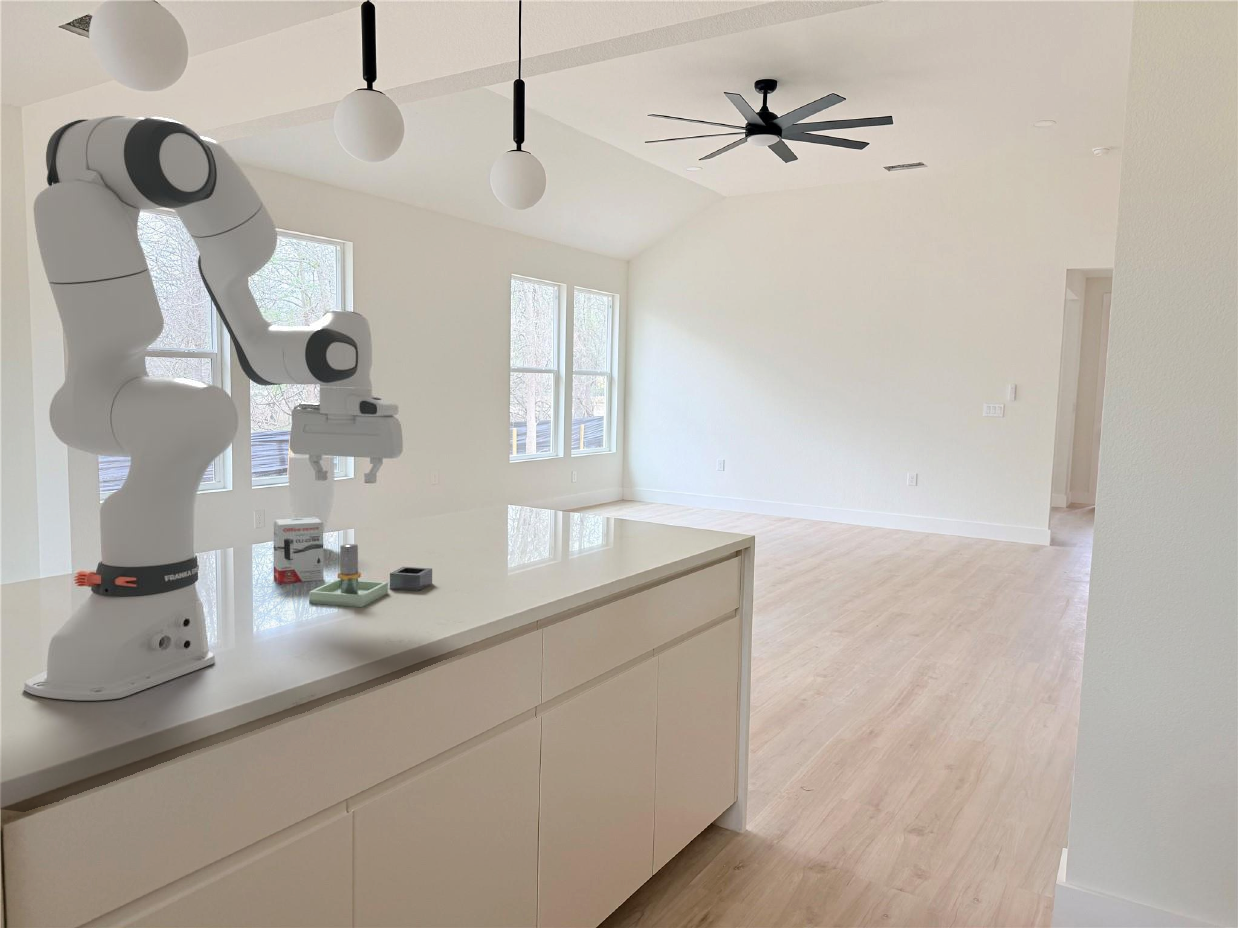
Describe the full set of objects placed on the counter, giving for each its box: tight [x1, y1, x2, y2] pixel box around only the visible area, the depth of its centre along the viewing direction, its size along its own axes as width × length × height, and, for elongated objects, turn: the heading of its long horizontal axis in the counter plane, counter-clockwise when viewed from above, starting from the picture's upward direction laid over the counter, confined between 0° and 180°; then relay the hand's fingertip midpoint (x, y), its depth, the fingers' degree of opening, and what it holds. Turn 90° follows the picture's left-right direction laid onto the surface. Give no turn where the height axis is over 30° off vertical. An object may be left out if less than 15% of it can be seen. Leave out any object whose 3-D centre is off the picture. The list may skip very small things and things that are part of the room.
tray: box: [308, 578, 389, 608], centre depth 148 cm, size 10×10×2 cm
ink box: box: [273, 517, 324, 585], centre depth 161 cm, size 8×5×12 cm, turn 123°
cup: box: [288, 454, 335, 534], centre depth 191 cm, size 10×10×22 cm
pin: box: [337, 543, 362, 594], centre depth 148 cm, size 4×4×9 cm
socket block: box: [389, 566, 433, 592], centre depth 158 cm, size 6×6×3 cm
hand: (345, 481), depth 146 cm, fingers open, 8 cm apart
